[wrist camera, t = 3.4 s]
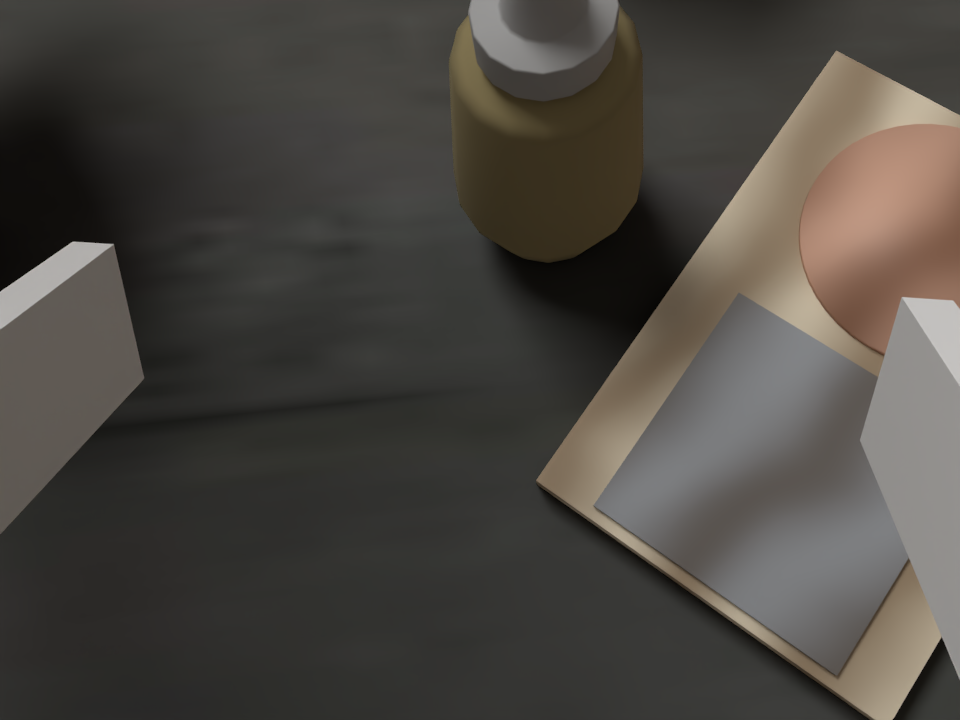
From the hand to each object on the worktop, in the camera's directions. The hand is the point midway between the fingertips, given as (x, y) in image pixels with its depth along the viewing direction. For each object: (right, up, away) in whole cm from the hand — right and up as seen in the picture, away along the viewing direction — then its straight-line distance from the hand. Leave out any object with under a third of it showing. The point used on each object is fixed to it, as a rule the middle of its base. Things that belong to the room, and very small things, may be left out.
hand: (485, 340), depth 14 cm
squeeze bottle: (+3, +7, +25) cm, 27 cm away
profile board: (+16, -1, +22) cm, 27 cm away
